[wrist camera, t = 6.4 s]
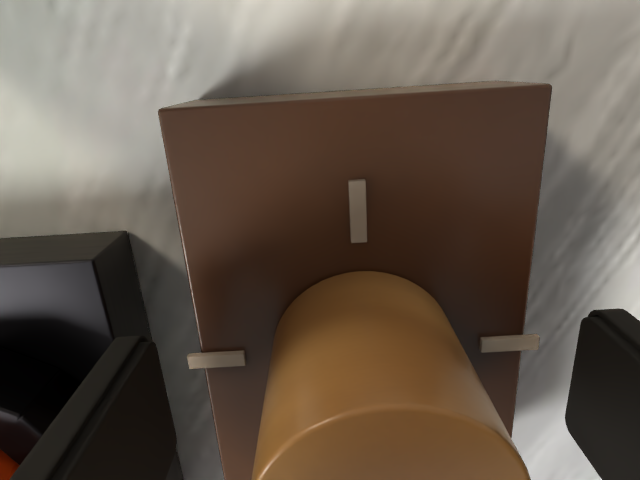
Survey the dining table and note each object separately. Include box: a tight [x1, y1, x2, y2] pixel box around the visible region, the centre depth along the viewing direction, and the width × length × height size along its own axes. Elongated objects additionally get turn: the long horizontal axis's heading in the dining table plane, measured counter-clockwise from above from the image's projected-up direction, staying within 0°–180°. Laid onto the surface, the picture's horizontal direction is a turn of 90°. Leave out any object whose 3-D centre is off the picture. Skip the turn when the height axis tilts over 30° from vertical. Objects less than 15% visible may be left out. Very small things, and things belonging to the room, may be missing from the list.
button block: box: [0, 231, 183, 480], centre depth 13 cm, size 11×8×4 cm
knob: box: [251, 271, 531, 480], centre depth 9 cm, size 4×4×5 cm
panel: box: [158, 81, 552, 480], centre depth 12 cm, size 12×9×3 cm
